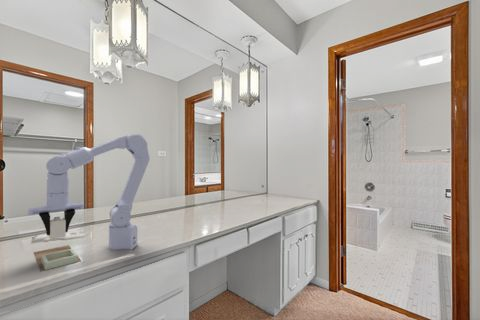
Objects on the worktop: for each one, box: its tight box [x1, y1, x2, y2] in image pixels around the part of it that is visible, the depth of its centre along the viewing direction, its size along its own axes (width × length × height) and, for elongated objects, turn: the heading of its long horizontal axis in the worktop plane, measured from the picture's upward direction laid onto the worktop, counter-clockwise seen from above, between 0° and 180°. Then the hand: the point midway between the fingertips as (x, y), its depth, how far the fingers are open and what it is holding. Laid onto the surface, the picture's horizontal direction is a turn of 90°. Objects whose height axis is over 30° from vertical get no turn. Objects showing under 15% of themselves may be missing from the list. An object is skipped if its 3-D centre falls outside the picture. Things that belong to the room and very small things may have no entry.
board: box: [33, 244, 82, 273], centre depth 77 cm, size 20×10×1 cm, turn 47°
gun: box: [31, 230, 89, 244], centre depth 96 cm, size 18×3×10 cm
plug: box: [49, 216, 66, 239], centre depth 77 cm, size 4×4×6 cm
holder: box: [41, 248, 79, 271], centre depth 73 cm, size 8×8×2 cm
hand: (57, 233), depth 77 cm, fingers closed on plug, 4 cm apart
